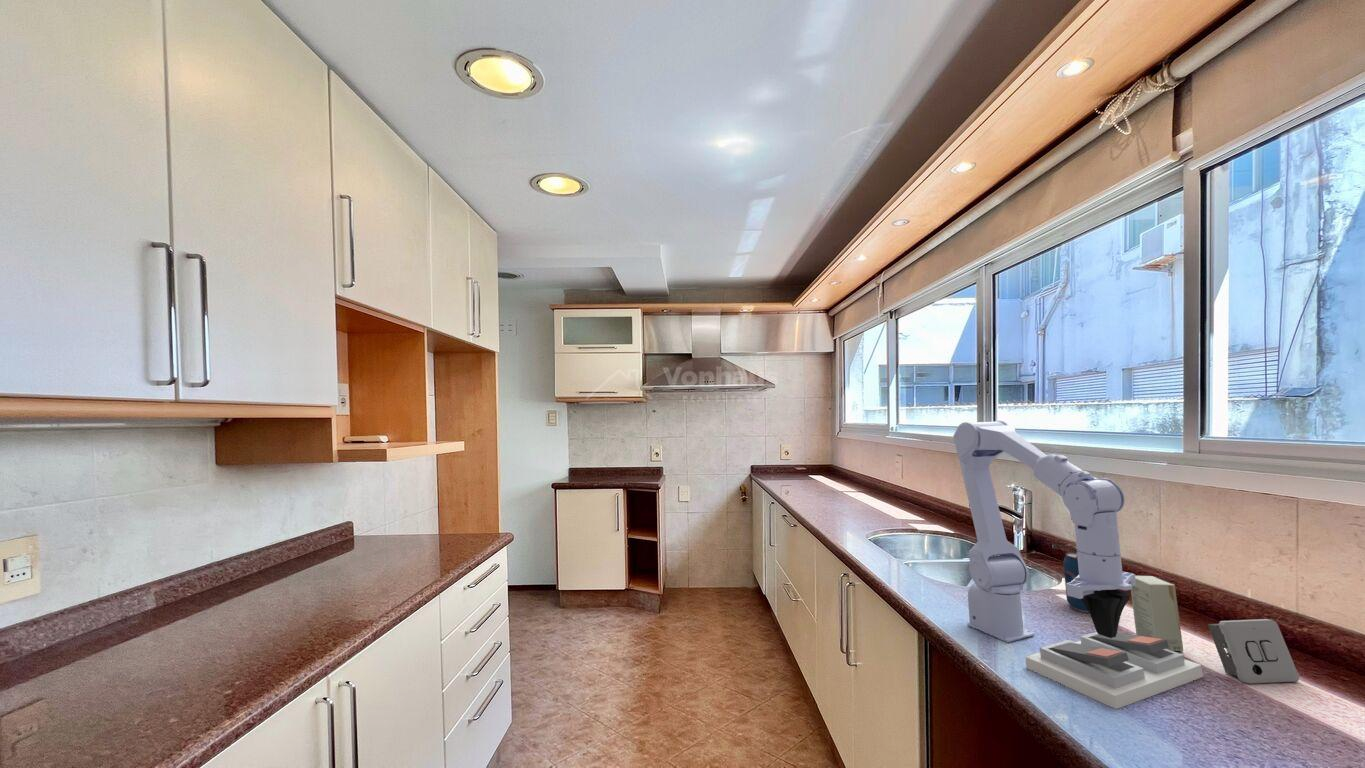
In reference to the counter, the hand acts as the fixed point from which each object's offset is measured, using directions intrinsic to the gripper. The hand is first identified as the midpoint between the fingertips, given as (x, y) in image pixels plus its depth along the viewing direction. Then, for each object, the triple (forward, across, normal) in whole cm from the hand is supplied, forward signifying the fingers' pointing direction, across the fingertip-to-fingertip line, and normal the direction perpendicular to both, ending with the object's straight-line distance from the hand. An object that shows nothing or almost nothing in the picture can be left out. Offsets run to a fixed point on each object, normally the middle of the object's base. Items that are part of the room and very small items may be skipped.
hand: (1106, 635), depth 83 cm
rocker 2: (+4, +11, +3) cm, 12 cm away
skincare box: (+9, +25, +6) cm, 27 cm away
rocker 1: (+4, 0, +3) cm, 5 cm away
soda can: (+9, +32, +23) cm, 40 cm away
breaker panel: (+8, +6, +3) cm, 11 cm away
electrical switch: (+9, +25, -7) cm, 27 cm away
